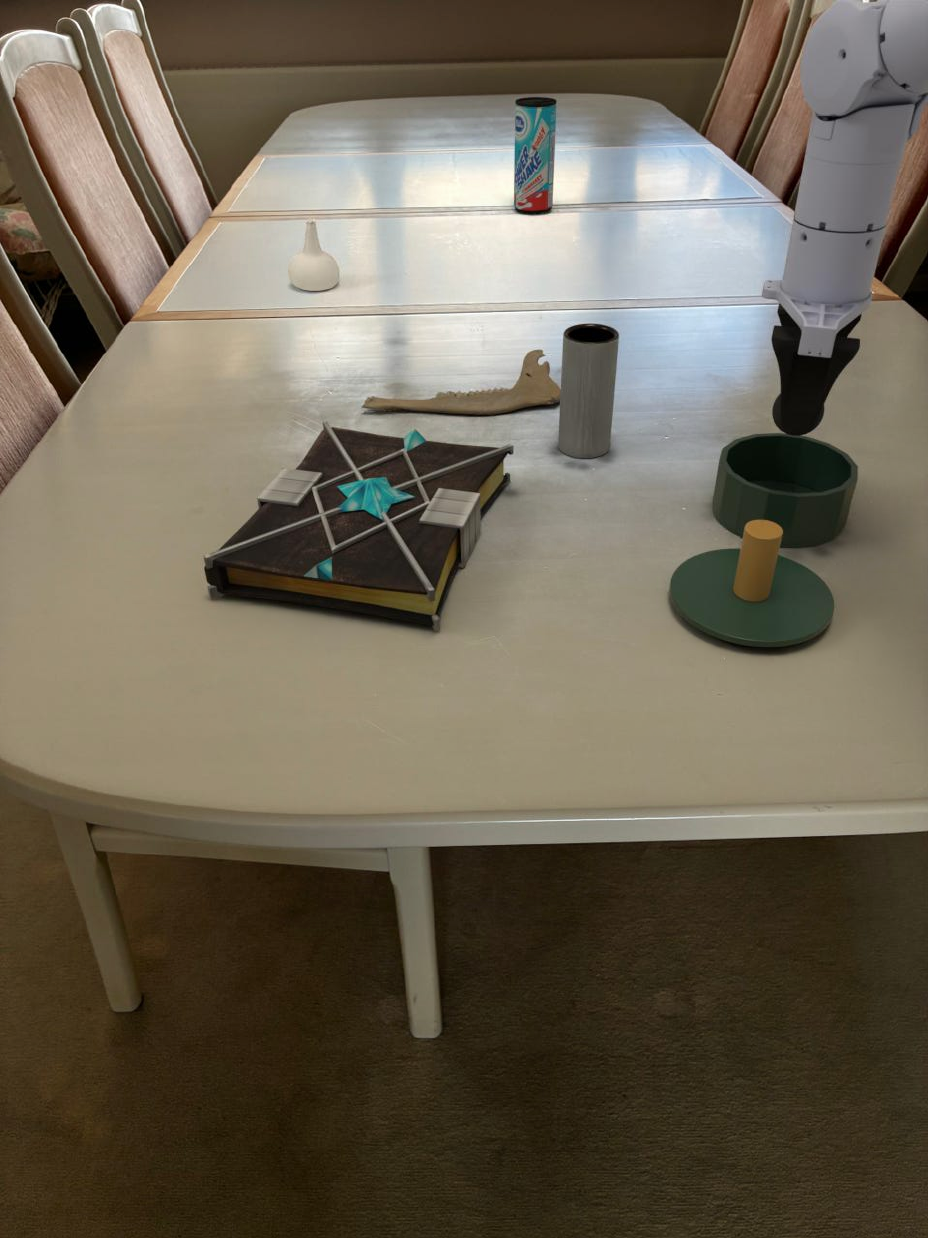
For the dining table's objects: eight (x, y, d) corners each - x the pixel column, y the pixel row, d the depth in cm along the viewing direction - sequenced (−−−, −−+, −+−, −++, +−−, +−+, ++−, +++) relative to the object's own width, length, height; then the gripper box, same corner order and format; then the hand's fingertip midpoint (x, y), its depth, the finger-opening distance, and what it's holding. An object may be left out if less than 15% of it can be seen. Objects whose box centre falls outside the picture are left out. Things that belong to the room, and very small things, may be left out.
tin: (845, 491, 77) (858, 442, 75) (843, 557, 70) (857, 505, 67) (720, 474, 80) (728, 426, 77) (704, 535, 73) (712, 484, 70)
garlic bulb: (313, 274, 124) (306, 209, 119) (350, 282, 121) (345, 216, 116) (279, 288, 120) (270, 221, 115) (317, 297, 117) (310, 228, 112)
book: (325, 457, 83) (319, 404, 80) (514, 481, 80) (515, 426, 77) (207, 600, 67) (193, 540, 64) (437, 638, 63) (435, 575, 60)
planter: (618, 454, 83) (628, 338, 77) (569, 462, 82) (576, 346, 76) (596, 432, 87) (605, 320, 80) (550, 439, 86) (554, 326, 79)
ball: (819, 425, 72) (830, 380, 70) (817, 447, 69) (828, 400, 67) (770, 419, 73) (778, 374, 71) (766, 440, 70) (775, 394, 68)
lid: (833, 575, 68) (853, 500, 64) (828, 668, 60) (850, 589, 56) (680, 550, 71) (691, 477, 67) (656, 636, 63) (666, 559, 59)
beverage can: (506, 208, 148) (507, 99, 138) (539, 203, 150) (542, 95, 141) (526, 217, 143) (529, 105, 134) (559, 212, 146) (564, 101, 136)
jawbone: (590, 402, 93) (592, 383, 91) (401, 456, 85) (400, 436, 84) (539, 364, 99) (541, 345, 97) (358, 411, 91) (357, 391, 90)
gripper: (783, 189, 68) (751, 370, 77) (766, 248, 57) (731, 452, 66) (888, 196, 66) (844, 381, 75) (891, 257, 56) (839, 466, 64)
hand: (798, 415), depth 70 cm, fingers closed on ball, 3 cm apart
